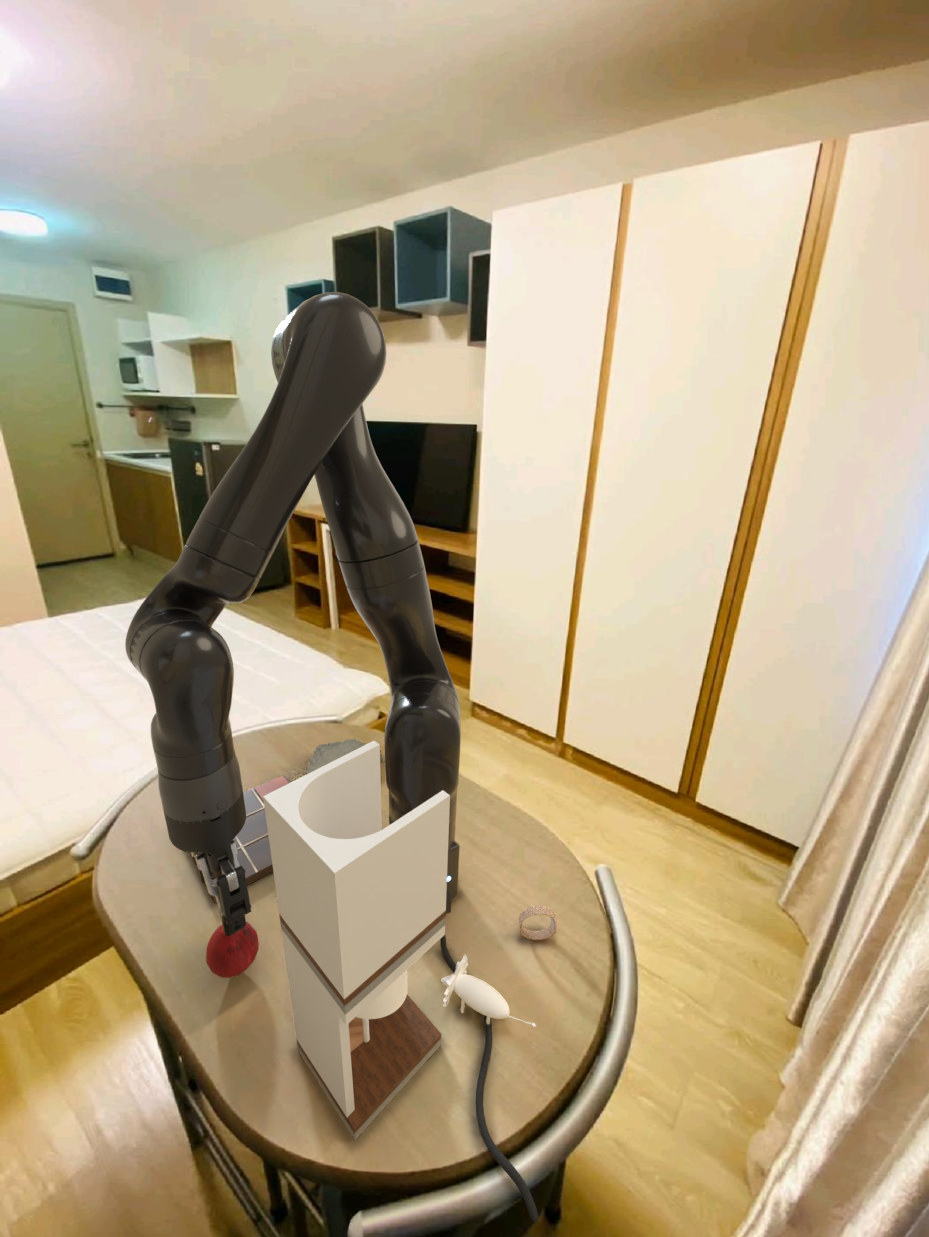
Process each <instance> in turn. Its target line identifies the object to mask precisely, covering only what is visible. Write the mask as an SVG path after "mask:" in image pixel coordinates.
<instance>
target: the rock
mask: <svg viewBox="0 0 929 1237" xmlns="http://www.w3.org/2000/svg"><path fill="white" fill-rule="evenodd" d="M366 744H367V743H366V742H362V741H360V740H357V739H355V738H351V739H346V740H344V741H334V742H328V743H321V744H319V745H317V746H316V747H315V748H314V751H313V755H312V756H311V757H310V759H309V765H308V766H307V768H306V771H305V775H307V774H309V773H311V772H313V771H315V770H317V769H319V768H321V767H323V766H324V765H326V764H328V763H330V762H332V761H334V760H336V759H338V758H340V757H342V756H344V755H346V754H348V753H350V752H352V751H354V750H356V749H358V748H360V747H362V746H364V745H366ZM381 752H382V751H381V749H380V763H381V762H382V761H383V754H381Z"/></svg>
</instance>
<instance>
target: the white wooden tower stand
mask: <svg viewBox="0 0 929 1237" xmlns="http://www.w3.org/2000/svg"><path fill="white" fill-rule="evenodd" d="M380 750H381V745H380V743H379V742H378V741H376V740H372V741H370V742H368V743H366V745H364V746H362V747H360V748H358V749H356V750H354V751H352V752H350V753H348V754H346V755H344V756H342V757H340V758H338V759H336V760H334V761H332V762H330V763H328V764H326V765H324V766H323V767H321V768H319V769H317V770H315V771H313V772H311V773H309V774H307V775H306V774H305V775H303V776H301V777H299V778H296V779H295V780H293V781H290V783H289V784H287V785H285V786H283V787H281V788H279V789H277V790H275V791H273V792H271V793H269V794H267V795H265V796H263V799H264V807H265V814H266V821H267V829H268V836H269V843H270V850H271V858H272V865H273V872H272V873H273V878H274V886H275V894H276V900H277V901H276V902H277V909H278V916H279V922H280V929H281V937H282V944H283V951H284V952H283V953H284V958H285V966H286V973H287V980H288V988H289V996H290V1002H291V1010H292V1011H291V1012H292V1019H293V1024H294V1031H295V1039H296V1047H297V1051H298V1053H299V1054H300V1056H301V1057H302V1059H303V1060H304V1063H305V1064H306V1065H307V1067H308V1069H309V1071H310V1072H311V1073H312V1075H313V1077H314V1078H315V1080H316V1081H317V1083H318V1084H319V1086H320V1088H321V1089H322V1091H323V1092H324V1094H325V1096H326V1097H327V1098H328V1100H329V1102H330V1104H331V1105H332V1107H333V1108H334V1109H335V1111H336V1113H337V1114H338V1116H339V1118H340V1120H341V1121H342V1122H343V1124H344V1126H345V1128H346V1129H347V1130H348V1132H349V1133H350V1135H351V1137H352V1138H353V1140H354V1141H357V1139H358V1138H359V1137H360V1135H362V1134H363V1132H364V1131H365V1130H366V1129H367V1128H368V1127H369V1126H370V1124H371V1123H372V1122H373V1121H374V1120H375V1119H376V1118H377V1117H378V1116H379V1115H380V1113H381V1112H382V1111H383V1110H384V1109H385V1108H386V1107H387V1106H388V1105H389V1104H390V1103H391V1101H393V1100H394V1098H395V1097H396V1096H397V1095H398V1093H400V1091H401V1090H402V1089H403V1088H404V1087H405V1086H406V1084H407V1083H409V1081H410V1080H412V1078H413V1077H414V1075H416V1074H417V1072H418V1071H419V1070H420V1069H421V1068H422V1067H423V1066H424V1064H426V1062H427V1061H428V1060H429V1059H430V1058H431V1057H432V1055H434V1053H435V1052H436V1051H437V1050H438V1049H439V1048H440V1047H441V1046H442V1033H441V1032H440V1030H439V1029H438V1028H437V1027H436V1026H435V1024H434V1023H433V1022H432V1021H431V1020H430V1019H429V1017H427V1015H426V1014H425V1013H424V1012H423V1010H422V1009H421V1008H420V1007H419V1006H418V1005H417V1004H416V1002H414V1000H413V999H412V998H411V997H410V995H408V990H409V988H408V983H409V980H408V974H409V973H408V969H409V968H410V967H412V966H413V965H414V964H415V963H416V962H417V961H418V960H420V959H421V957H423V956H424V955H425V954H426V953H427V952H428V951H429V950H430V949H431V948H432V947H433V946H435V945H436V944H437V943H438V942H439V941H440V939H441V938H442V937H443V936H444V935H445V936H446V917H447V916H446V915H447V914H446V891H447V864H448V837H449V809H450V795H449V794H447V793H446V792H445V791H443V790H442V791H441V792H439V793H438V794H436V795H435V796H433V797H432V798H430V799H429V800H427V801H426V802H424V803H423V804H421V805H419V806H418V807H416V808H415V809H413V810H412V811H410V812H409V813H407V814H406V815H404V816H403V817H401V818H400V819H398V820H397V821H395V822H394V823H392V824H391V825H389V824H388V826H386V827H385V828H383V820H382V819H383V818H382V814H383V812H382V783H381V782H382V780H381V779H382V778H381V762H380Z"/></svg>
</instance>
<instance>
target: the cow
mask: <svg viewBox="0 0 929 1237" xmlns="http://www.w3.org/2000/svg"><path fill="white" fill-rule="evenodd" d="M468 961H469V958H468V955H467V954H466V953H464V954H463V956H462V959H461V961H457V963H456V970H455V973H454V972H453V973H451V974H449V975H446V976H444V977H443V978H441V980H440V983H441V984H442V985H444V986H445V987H446V989H445V991H444V993H443V995H444V998H443V1000H442V1002H444V1003H443V1004H442V1006H443V1007H445V1008H446V1007H447V1006H448V1004H449V1003H450V1000H451V996H452V994H453V993H454V992H455V993H456V995H457V997H458V998H460V999H461V1002H460V1009H459V1011H460V1013H461V1014H464V1013H465V1004H466V1005H467V1006H468V1007H470V1008H471V1009H473V1010H474V1011H476V1012H477V1013H479V1014H481V1015H482V1014H483V1015H485V1016H487V1020H486V1024H487V1025H489V1024H490V1019H496V1020H504V1019H506V1018H508V1019H511V1020H514V1021H518V1022H519V1023H523V1024H526V1025H529V1026H531V1028H536V1027H537V1024H536V1023H535V1022H529V1021H527V1020H523V1019H521V1018H517V1017H515V1016H512V1015H510V1013H511V1012H510V1011H511V1010H510V1006H509V1004H508V1002H507V1001H506V999H505V998H504V997H503V995H502V993H500V992H499V991H498V990H497V989H495V988H494V987H493V985H490V984H489V983H487V982H486V981H485V980H482V979H480V978H479V977H476V976H474V975H472V974H471V975H470V974H467V973H468V970H467V968H468V966H469V965H470V964H469V962H468ZM483 1015H482V1016H483Z"/></svg>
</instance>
